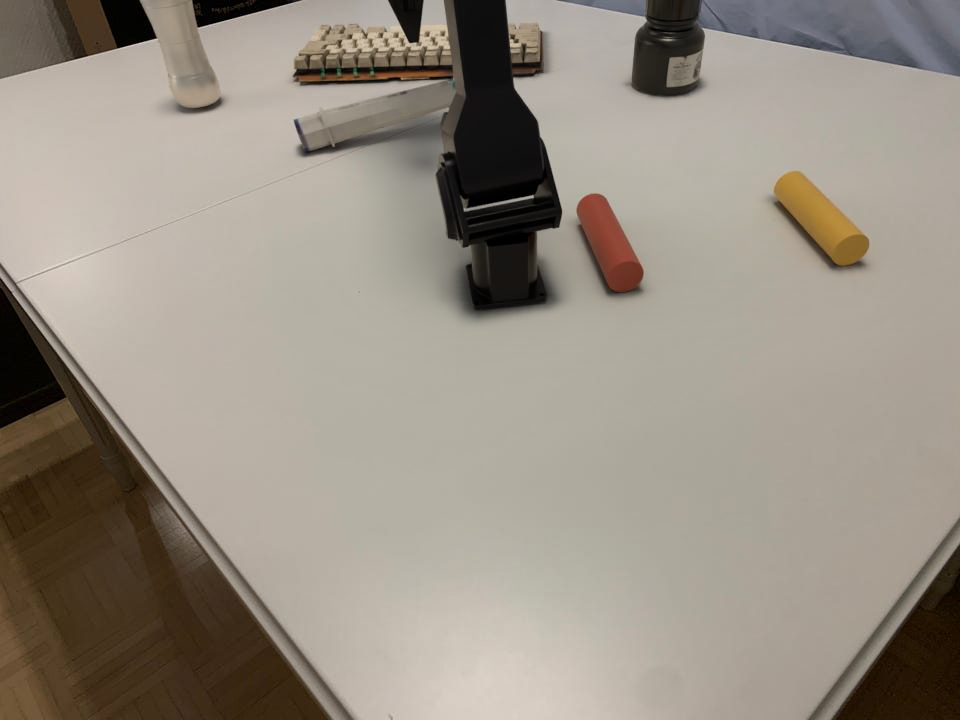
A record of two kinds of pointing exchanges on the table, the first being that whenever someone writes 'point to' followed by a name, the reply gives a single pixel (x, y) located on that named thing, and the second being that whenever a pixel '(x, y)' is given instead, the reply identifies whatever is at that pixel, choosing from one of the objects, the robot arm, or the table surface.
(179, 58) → the plastic bottle
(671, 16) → the ink bottle
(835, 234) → the rod yellow
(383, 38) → the mechanical keyboard
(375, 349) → the table surface
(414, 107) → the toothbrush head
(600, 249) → the rod red
